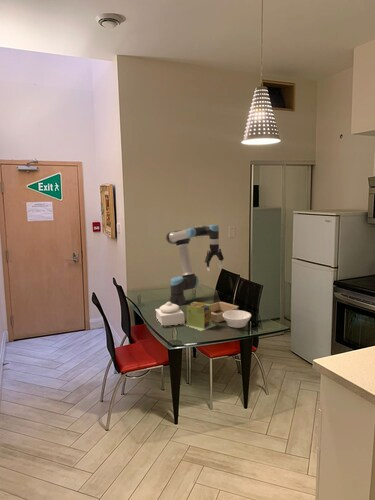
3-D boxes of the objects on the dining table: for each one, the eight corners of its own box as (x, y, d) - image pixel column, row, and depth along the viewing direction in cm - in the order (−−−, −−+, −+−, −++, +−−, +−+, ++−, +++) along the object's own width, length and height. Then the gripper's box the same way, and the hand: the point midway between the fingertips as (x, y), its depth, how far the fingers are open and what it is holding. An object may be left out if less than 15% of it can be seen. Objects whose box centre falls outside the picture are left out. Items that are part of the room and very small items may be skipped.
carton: (196, 317, 297) (196, 309, 296) (220, 308, 316) (220, 301, 315) (215, 323, 282) (215, 315, 281) (239, 314, 301) (239, 306, 300)
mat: (183, 324, 281) (183, 324, 281) (198, 319, 291) (198, 318, 291) (200, 331, 267) (200, 330, 267) (216, 325, 278) (216, 324, 278)
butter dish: (184, 323, 281) (183, 303, 279) (161, 327, 276) (160, 307, 273) (177, 316, 298) (176, 297, 295) (155, 320, 292) (154, 300, 290)
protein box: (204, 328, 270) (204, 308, 268) (186, 325, 279) (186, 304, 276) (211, 324, 279) (211, 304, 276) (194, 320, 287) (193, 301, 285)
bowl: (231, 318, 292) (231, 308, 291) (256, 323, 280) (256, 313, 279) (217, 326, 275) (217, 316, 274) (243, 332, 263) (243, 321, 262)
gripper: (206, 246, 292) (207, 272, 295) (227, 242, 309) (228, 267, 312) (200, 245, 298) (200, 271, 301) (221, 241, 314) (221, 266, 318)
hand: (214, 269), depth 307 cm, fingers open, 13 cm apart
